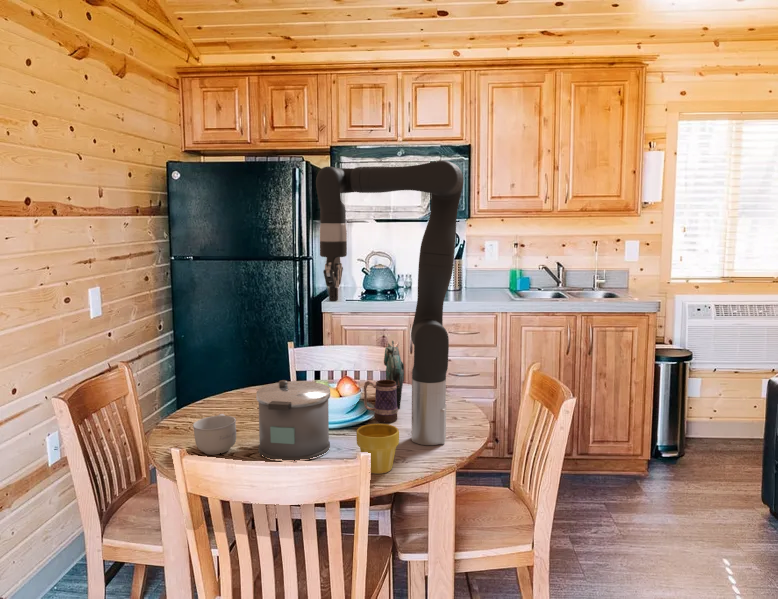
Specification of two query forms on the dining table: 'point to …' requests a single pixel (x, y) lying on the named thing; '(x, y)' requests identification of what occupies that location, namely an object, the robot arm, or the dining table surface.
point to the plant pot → (379, 445)
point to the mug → (383, 400)
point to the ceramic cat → (394, 369)
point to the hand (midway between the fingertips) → (333, 301)
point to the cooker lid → (292, 394)
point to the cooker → (294, 432)
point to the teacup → (215, 434)
